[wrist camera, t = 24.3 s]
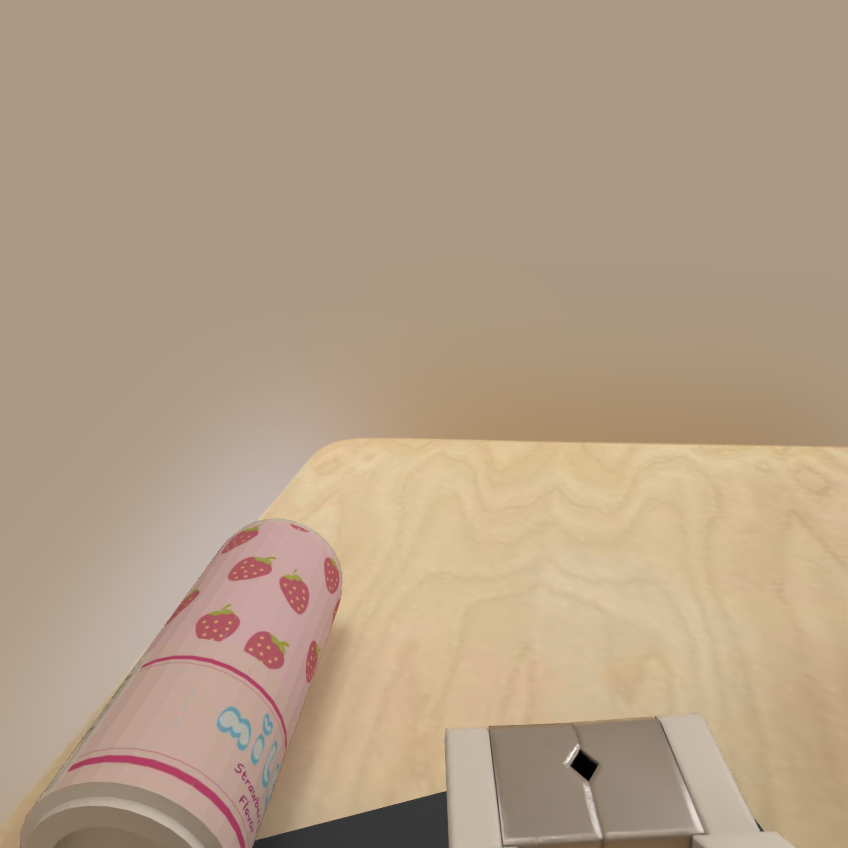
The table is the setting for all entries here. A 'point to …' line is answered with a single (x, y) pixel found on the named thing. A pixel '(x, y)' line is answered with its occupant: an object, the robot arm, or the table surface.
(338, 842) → the mat
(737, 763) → the table surface
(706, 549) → the table surface
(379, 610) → the table surface
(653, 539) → the table surface
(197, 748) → the beverage can
